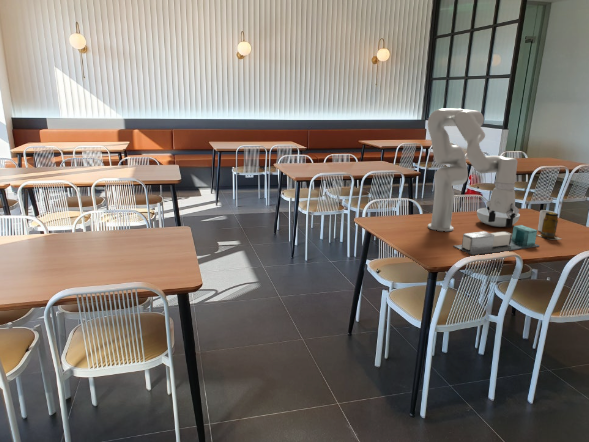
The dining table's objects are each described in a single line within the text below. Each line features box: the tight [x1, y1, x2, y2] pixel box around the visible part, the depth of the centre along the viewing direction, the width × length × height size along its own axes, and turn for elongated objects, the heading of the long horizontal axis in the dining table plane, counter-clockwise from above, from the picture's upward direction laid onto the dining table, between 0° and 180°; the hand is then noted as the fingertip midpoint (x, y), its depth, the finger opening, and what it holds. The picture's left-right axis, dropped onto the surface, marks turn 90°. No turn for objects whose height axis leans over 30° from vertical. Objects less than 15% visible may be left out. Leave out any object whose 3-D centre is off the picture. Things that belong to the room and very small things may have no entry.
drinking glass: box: [537, 209, 556, 232], centre depth 223 cm, size 7×7×10 cm
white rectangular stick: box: [462, 231, 512, 250], centre depth 194 cm, size 24×4×5 cm, turn 111°
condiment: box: [537, 211, 562, 241], centre depth 212 cm, size 7×8×12 cm
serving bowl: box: [476, 207, 521, 228], centre depth 232 cm, size 21×21×7 cm
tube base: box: [452, 224, 540, 256], centre depth 197 cm, size 39×12×7 cm, turn 111°
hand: (499, 224), depth 194 cm, fingers open, 9 cm apart
